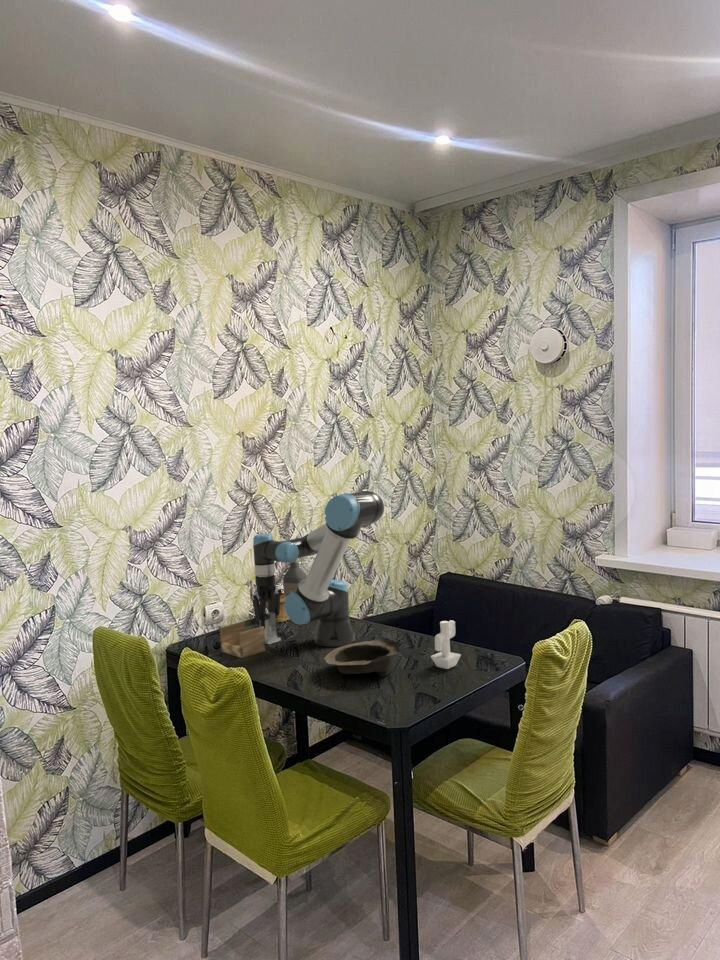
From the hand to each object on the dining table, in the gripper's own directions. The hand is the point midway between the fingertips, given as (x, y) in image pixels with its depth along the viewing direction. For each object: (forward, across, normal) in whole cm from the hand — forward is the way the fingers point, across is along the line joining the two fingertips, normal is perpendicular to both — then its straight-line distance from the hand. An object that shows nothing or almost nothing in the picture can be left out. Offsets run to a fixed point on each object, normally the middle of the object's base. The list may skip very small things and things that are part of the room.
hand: (268, 635), depth 281 cm
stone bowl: (+2, +3, +54) cm, 54 cm away
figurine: (+2, -18, +72) cm, 74 cm away
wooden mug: (+2, -19, -21) cm, 28 cm away
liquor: (+2, -33, -23) cm, 40 cm away
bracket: (+2, 0, 0) cm, 2 cm away
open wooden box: (+2, +14, +3) cm, 14 cm away
